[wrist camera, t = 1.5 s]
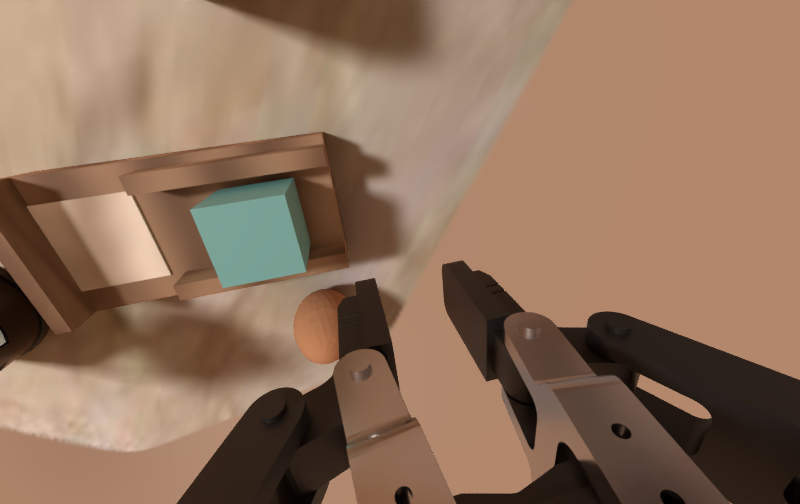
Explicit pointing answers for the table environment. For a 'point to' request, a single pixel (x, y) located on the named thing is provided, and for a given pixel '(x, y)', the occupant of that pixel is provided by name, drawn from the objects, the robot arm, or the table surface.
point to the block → (254, 232)
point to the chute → (149, 224)
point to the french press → (18, 321)
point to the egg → (318, 326)
